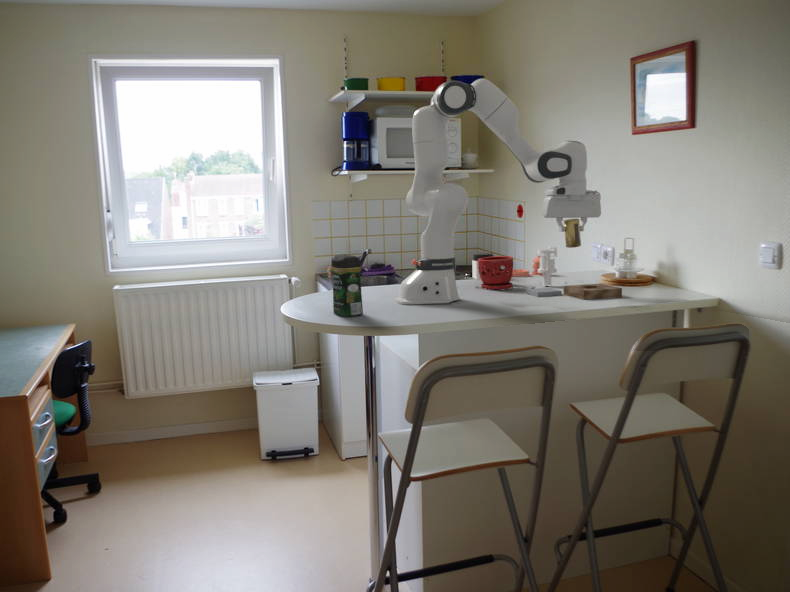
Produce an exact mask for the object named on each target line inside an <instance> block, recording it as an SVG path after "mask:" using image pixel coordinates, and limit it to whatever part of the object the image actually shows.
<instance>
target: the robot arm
mask: <svg viewBox="0 0 790 592" xmlns="http://www.w3.org/2000/svg"><path fill="white" fill-rule="evenodd" d="M466 111H470V112H472V113H474V114H475V115H476V116H478V118H479V119H480V120H481V121H482V123H484V125H486V127H487V128H488V129H489V130H490V131H492V132H493V133H494V134H495V135H496V136H497V137H498V138H499V139H500V140H501V141H502V142H503V144H504V145H505V146H506V147H507V148H508V149H509V151H510V152H511V153H512V154H513V155H514V156H515V158H516V159H517V160H518V162H519V163H520V165H521V167H522V171H523V173H524V174H525V177H526V178H527V179H528V180H529V181H531V182H533V183H536V184H539V183H543V182H544V183H545V182H548V181H552V180H556V179H558V180H559V184H558V185H556V186H553V187H549V188H547V189H545V192H544V194H545V197H544V199H543V203H542V214H541V215H542V216H543V218H545V219H556V221H555V223H557V225H558V228H559V230H558V231H559V232H564V233H565V228H566V226H564V223H563V222H564V219H565V218H566V219H579V222H580V221H581V222H580V223H579V225H580V232H584V229H585V225H587V222H588V218H600V216H601V215H602V206H601V199H602V198H601V197H602V196H601V193H600V192H599V191H598V190H588V189H587V177H586V173H587V169H588V156H587V148H586V146H585V144H584V143H582V142H579V141H577V140H565V141H563V142H562V143H560V144H559V145H557V146H555V147H553V148H551V149H549V150H546V151H542V152H541V151H538V150H536V149H535V148H534V147H533V146H532V145H531V143H530V142H529V141H528V140H527V139H526V138H525V137H524V136H523V134H522V133H521V131H520V127H519V121H520V112H519V110H518V108H517V106H516V105H515V104H514V102H513V101H512V100H511V98H509V97H508V96H507V95H506V93H504V92H503V90H502V89H500V87H498V86H497V85H496V84H494V83H493V82H492V81H490V80H489V79H487V78H484V77H483V78H478V79H475V80H474V81H473V82H472V83H470V84H469V83H466V82H462V81H460V80H448V81H446V82H443V83H442V84H440V85H439V86H438V87H437V88H436V89H435V91H434V92H433V93H432V96H431V99H430V101H429V104H428V105H427V106H426V105H425V106H422V107H420V108H418V109H416V110H415V111H414V113H413V114H412V123H411V124H412V125H411V128H412V130H411V133H412V134H411V135H412V145H413V146H412V147H413V156H414V177H413V181H412V186H411V188H410V189H409V191H408V192H407V194H406V196H405V197H406V198H405V203H406V207H407V209H408V211H409V212H410V213H412V214H414V215H417V216H418V217H419V216H420V217H424V218H426V217H428V218H429V219H428V223H427V225H426V228H425V230H424V231H422V233H421V236H420V258H419V259H412V261H411V265H412V266H415V270H414V271H413V272H412V273H411V274H410V275H409V276H407V277H406V278H405V279H403V280H402V282H401V283H400V286H399V292H398V294H399V295H396V296H394V297H393V298H392V300H393V301H394V302H395V303H396V302H397V303H396V304H400V305H423V304H424V305H425V304H426V305H428V304H430V305H431V304H449V303H451V302H453V301H454V302H455V301H458V300H460V296H459V293H458V289H457V288H458V287H457V283H456V282H457V281H456V276H455V274H456V271H457V269H456V268H457V265H456V257H455V255H454V254H455V253H454V252H455V251H454V250H455V248H454V243H455V242H454V241H455V232H456V231H455V230H456V228H457V225H458V221H459V219H460V217H461V215H462V214H463V213H464V212H465V211H466V209H467V208H468V204H469V196H468V192H467V190H465V188H464V187H463V186H461V185H458V184H455V183H450V182H443V183H442V178H443V174H444V171H445V169H446V168H447V167H448V165H449V163H450V161H449V153H448V152H449V151H448V142H447V141H448V140H447V133H446V132H447V131H446V124H447V121H448V119H451V118H454V117H458V116H460V115H461V114H463V113H465V112H466Z"/></svg>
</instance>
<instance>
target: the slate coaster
mask: <svg viewBox="0 0 790 592" xmlns="http://www.w3.org/2000/svg"><path fill="white" fill-rule="evenodd" d="M562 292H563V291H562V290H559V289H556V288H552V287H543V288H542V287H541V288H540V287H539V288H526V294H527V295H531V296H534V297H537V298H538V297H539V298H541V297H551V296H552V297H554V296H555V297H556V296H562V294H563V293H562Z"/></svg>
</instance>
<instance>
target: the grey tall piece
mask: <svg viewBox="0 0 790 592" xmlns="http://www.w3.org/2000/svg"><path fill="white" fill-rule="evenodd" d="M557 253H558V247H557V246H548V249H538V250H537V254H540V255H541V257H540V269H538V273H543V276H542V286H543V285H551V286H552V274H555V273H557V270H558V269H557V268H556V266H555V264H556V261H555V258H556V257H557V256H558V254H557ZM553 257H555V258H553Z"/></svg>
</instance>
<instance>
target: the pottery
mask: <svg viewBox="0 0 790 592" xmlns="http://www.w3.org/2000/svg"><path fill="white" fill-rule="evenodd" d="M540 257H542V255H537V256H536V258H534V259H533V261H532V262H533V264H532V269H533V270H532V272H531V273H530V271H529V270H526V269H523V268H518V269H517V268H513V274H512V278H519V277H518V276H527V277H528V276H529V277H530V275H531V276H534V275H543V273H538V269H540ZM507 272H508V271H507ZM527 277H526V278H527Z"/></svg>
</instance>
